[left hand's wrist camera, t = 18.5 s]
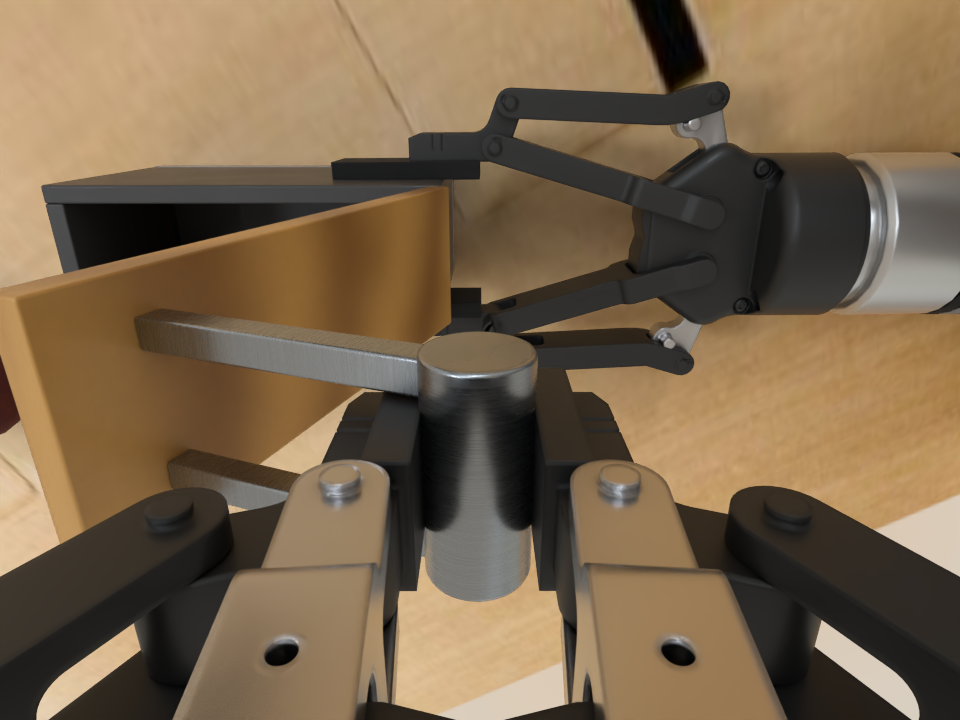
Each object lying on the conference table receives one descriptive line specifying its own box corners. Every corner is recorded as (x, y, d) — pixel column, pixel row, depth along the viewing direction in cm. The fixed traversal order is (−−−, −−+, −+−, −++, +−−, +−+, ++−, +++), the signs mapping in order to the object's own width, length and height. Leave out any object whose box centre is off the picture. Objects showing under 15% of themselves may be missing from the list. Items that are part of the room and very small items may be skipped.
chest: (179, 266, 36) (74, 318, 27) (160, 165, 34) (39, 185, 25) (454, 266, 36) (444, 318, 27) (452, 165, 34) (440, 184, 25)
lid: (67, 574, 12) (481, 720, 9) (-22, 292, 10) (481, 366, 7) (433, 320, 27) (637, 345, 24) (430, 185, 25) (652, 194, 22)
